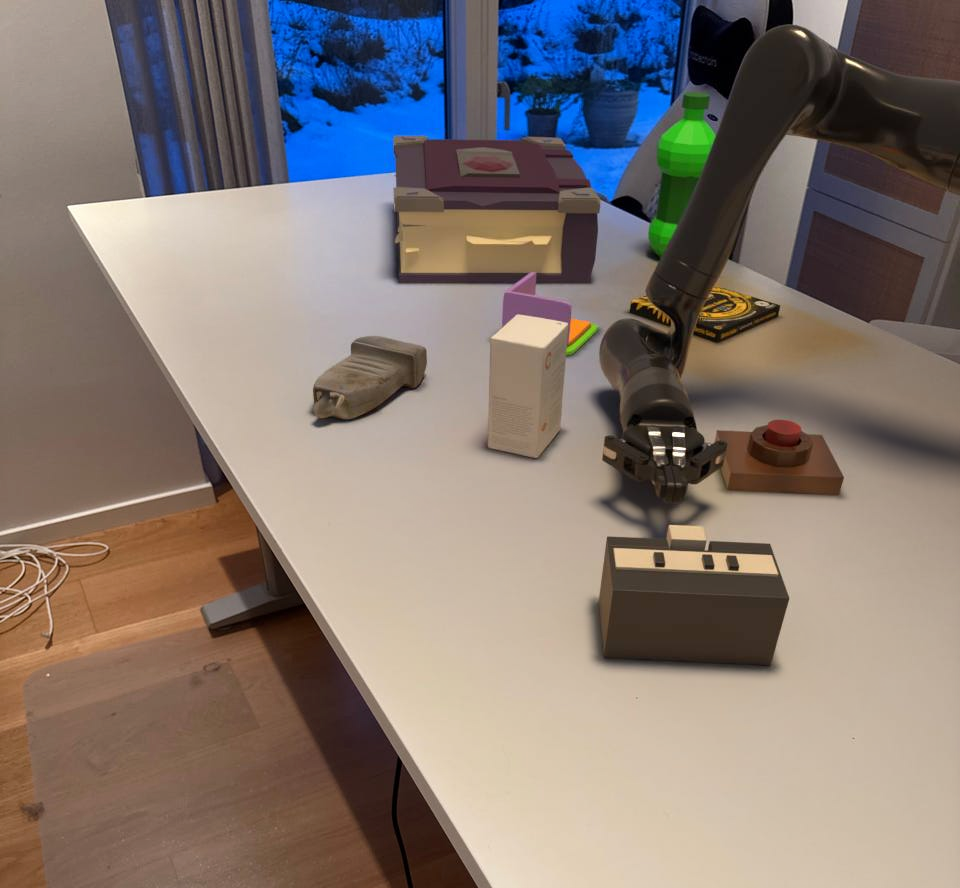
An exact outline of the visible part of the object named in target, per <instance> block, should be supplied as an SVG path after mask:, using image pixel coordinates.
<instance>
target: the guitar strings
mask: <svg viewBox="0 0 960 888" xmlns="http://www.w3.org/2000/svg"><path fill="white" fill-rule="evenodd" d="M629 306H630V307H629V314H632V315H635V316H639V317H641V318H645V319H647V320H650V321H653V322H655V323H659V324H661V325H665V326H667V327H671V319H670V318H669V317H668V316H667V315H665V314H664V313H663V312H661V311H660V310H659V309H657V308H656V307H655V306H654V305H653V304H652V303H651V302H650V301H649V300H648V299H647V296H646V295H643V296H640V297H638V298H635V299H633V300H632V299H631V300H630V305H629ZM780 310H781V304H777V303H774V302H772V301H768V300H764V299H761V298H758V297H755V296H751V295H748V294H745V293H742V292H738V291H735V290H733V289H732V290H731V289H729V288H726V287H721V286H718V285H715V286H714V288H713V289H712V291H711V293H710V295H709V297H708V298H707V300H706V302H705V304H704V306H703V308H702V310H701V313H700V315H699V318H698V321H697V324H696V326H695V330H694V333H693V336H696V337H699V338H703V339H704V340H707V341H711V342H714V343H717V344H718V343H720V342H723V341H725V340H727V339H730V338H732V337H735V336H737V335H739V334H741V333H744V332H746V331H748V330H749V331H750V330H751V329H753V328H756V327H758V326H761V325H762V324H765V323H767V322H770V321H772V320H774V319H776V318H778V317H779V314H780Z"/></svg>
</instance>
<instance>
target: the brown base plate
mask: <svg viewBox="0 0 960 888" xmlns="http://www.w3.org/2000/svg"><path fill="white" fill-rule="evenodd" d="M767 425H768V424H766V425H762V426H756V427H755V428H754V429H753V430H752V431H745V430H744V431H741V430H740V431H739V430H722V429H721V430H719V429H718V430H716V432H715V438H714V443H715V442H716V441H725V442H726V443H727V449H726V454H725V459H724V463H723V467H721V468H720V469H719V470H720V472H721V476H722V478H723V481H724V484H725V487H726V490H727V491H735V492H736V491H737V492H758V493H780V494H781V493H783V494H802V495H804V494H805V495H824V496H825V495H826V496H827V495H829V496H840V493H841V488H842V486H843V482H844V479H845V476H844V474H843V472H842V470H841V469H840V467H839V465H838V463H837V461H836V459H835V457H834V455H833V453H832V451H831V450H830V447H829V446H828V443H827V442H826V440H825V438H824V436H823V434H815V433H813V434H810V433H806V432H804V431H802V430H801V434H800V437H799V441H798V445H797V446H793V447H780V446H776V445H772V444H770V443H768V442H767V441H765V440H764V437H765V433H766V429H767Z"/></svg>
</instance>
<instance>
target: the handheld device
mask: <svg viewBox="0 0 960 888" xmlns="http://www.w3.org/2000/svg"><path fill="white" fill-rule="evenodd" d="M427 351H428V350H427V348H426V347H425V346H424V345H420V344H416V343H411V342H406V341H402V340H398V339H394V338H389V337H386V336H380V335H367V336H366V335H365V336H362V337H357V338H356V339H354V340H353V341H352V342H351V344H350V355H348V356H346V357H345V358H343V359H341V360H340V361H338V362H337V363H335V364H333V365H332V366H330V367H329V368H327V369H326V370H324V372H323V373H322V374H320V375H319V376H318V377H317V379H316V380H315V382H314V383H313V387H312V397H313V398H312V399H313V403H314V404H313V408H312V412H313V415H315V417H317V418H321V419H326V418H328V417H332V418H336V419H341V420H351V419H355V418H357V417H360V416H362V415H364V414H366V413H368V412H370V411H372V410H374V409H375V408H377V407H378V406H380V405H381V404H383V403H384V402H385V401H386V400H387V399H388V398H390V397H391V396H392V395H393V394H394V393H396V392H397V391H398V390H399V389H400V388H401V387H406V388H410V389H415V388H416V387H418V386H419V385H420V383H421V382H422V380H423V378H424V375H425V372H426V369H427V366H428V353H427Z"/></svg>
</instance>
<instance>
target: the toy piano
mask: <svg viewBox="0 0 960 888" xmlns="http://www.w3.org/2000/svg"><path fill="white" fill-rule="evenodd" d="M708 542H709V543H708V547H707V550H706V549H705V550H686V549H669V545H668V540H667V538H651V537H633V536H632V537H628V536H611V535H610V536H608V535H607V536H606V540H605V548H604V557H603V565H602V571H601V579H600V587H599V596H598V610H599V621H600V631H601V641H602V653H603V658H608V659H629V660H650V661H669V662H670V661H672V662H692V663H693V662H694V663H696V662H697V663H710V664H711V663H712V664H713V663H715V664H735V665H757V666H771V665H772V662H773V658H774V655H775V652H776V648H777V644H778V641H779V637H780V634H781V630H782V627H783V624H784V619H785V617H786V616H785V615H786V612H787V609H788V605H789V603H790V596H789V593H788V589H787V587H786V584H785V581H784V579H783V576H782V574H781V570H780V568H779V565H778V563H777V559H776V556H775V553H774V551H773V548H772V545H771V543H765V542H764V543H763V542H741V541H719V540H717V541H716V540H710V541H708Z"/></svg>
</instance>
